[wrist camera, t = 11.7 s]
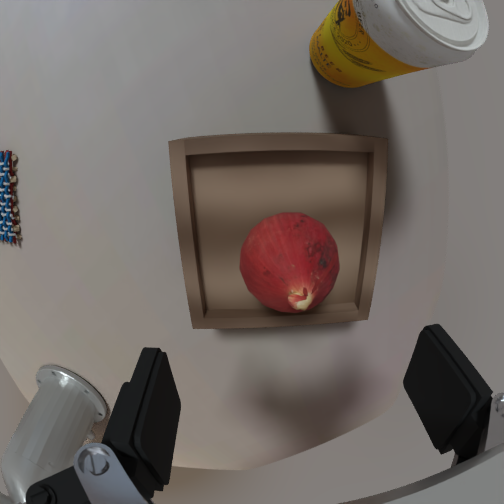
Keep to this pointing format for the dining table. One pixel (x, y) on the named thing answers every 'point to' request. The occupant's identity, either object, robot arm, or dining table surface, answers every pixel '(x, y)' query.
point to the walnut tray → (271, 203)
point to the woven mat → (8, 198)
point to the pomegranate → (289, 262)
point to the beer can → (395, 38)
